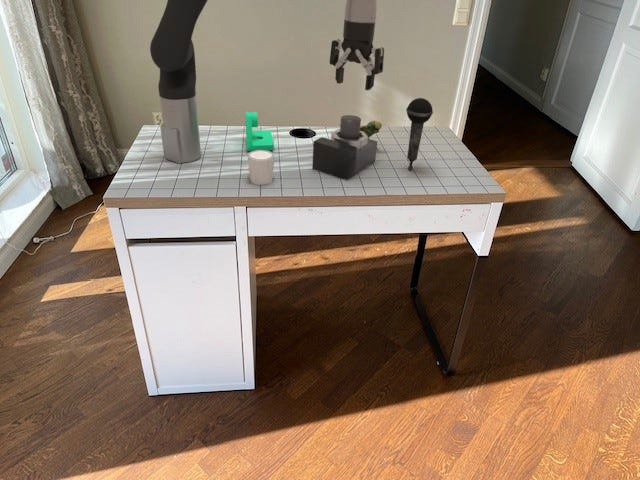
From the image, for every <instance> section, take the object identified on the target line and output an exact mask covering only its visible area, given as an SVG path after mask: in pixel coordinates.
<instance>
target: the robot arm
mask: <svg viewBox="0 0 640 480" xmlns="http://www.w3.org/2000/svg"><path fill="white" fill-rule="evenodd" d="M207 3H208V0H167V1H166V6H165V8H164V12H163V14H162V17H161V19H160V21H159V24H158V26H157V28H156V30H155V32H154V35H153V36H152V39H151V41H150V47H149V50H150V56H151V59H152V61H153V64H154V65H155V66H156V67H157V68H158V69H159V81H158V86H157V88H158V96H159V102H160V110H161V111H160V112H161V117H162V124H160V125H159V126H160V127H159V128H160V134H161V135H160V136H161V142H162V143H161V144H162V149H163V157H164V159H165V160H168V161H170V162H171V161H172V162H174V163H177V164H178V165H179V164H183V163H191V162H194V161H197V160H198V159H200V158H201V157H202V149H201V148H202V147H201V139H200V137H201V136H200V125H199V114H198V104H197V102H198V101H197V92H196V86H197V85H196V84H197V71H196V57H195V56H196V55H195V47H194V43H193V40H192V39H193V34H194V30H195V26H196V24H197V21H198V18H200V15H201V13H202V12H203V10H204V8H205V6H206V4H207ZM377 10H378V9H377V0H346V1H345V7H344V19H343V20H344V21H343V32H342V37H343V40H342V41H341V39H339V38H337V39H334V40H331V47H330V56H329V64H330V65H331V66H332V65H333V66H334V67H335V78H334V79H335V81H336V83H337V84H339V85H340V84H343V83H344V77H345V65H346V64H347V63H348V62H349V63H352V62H353V63H356V64H361V66H362V68H363V69H365V72H366V74H367V75H366V77H365V87H364V90H365V91H370V90H372V89H373V88H374V86H375V77H376V75H379V74H381V73H383V72H384V59H385V48H384V47H382V46H381V47H374V45H373V42H374V37H375V27H376V19H377ZM341 49H342V51H343V54H342V55H341V56H340V53H341V52H340V51H341ZM372 54H373V57H374V61H373V59H372V57H371V55H372Z"/></svg>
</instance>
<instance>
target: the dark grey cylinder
mask: <svg viewBox="0 0 640 480" xmlns="http://www.w3.org/2000/svg"><path fill="white" fill-rule="evenodd" d="M361 122H362V118H361V117H360V116H357V115H352V114H351V115H349V114H347V115H342V116H341V117H340V126H339V129H340V138H343V139H347V140H358V139H359V134H360V126H361Z"/></svg>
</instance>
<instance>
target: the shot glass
mask: <svg viewBox="0 0 640 480" xmlns="http://www.w3.org/2000/svg"><path fill="white" fill-rule="evenodd" d="M246 156H247V164H248V170H249V172H248V173H249V178H250V182H251V183H252V184H255V185H260V186H261V185H263V186H264V185H268V184H270V183H272V182H273V175H274V167H275V166H274V165H275V153H274V152H272V151H271V150H255V151H249V152H248V153H247V155H246Z"/></svg>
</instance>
